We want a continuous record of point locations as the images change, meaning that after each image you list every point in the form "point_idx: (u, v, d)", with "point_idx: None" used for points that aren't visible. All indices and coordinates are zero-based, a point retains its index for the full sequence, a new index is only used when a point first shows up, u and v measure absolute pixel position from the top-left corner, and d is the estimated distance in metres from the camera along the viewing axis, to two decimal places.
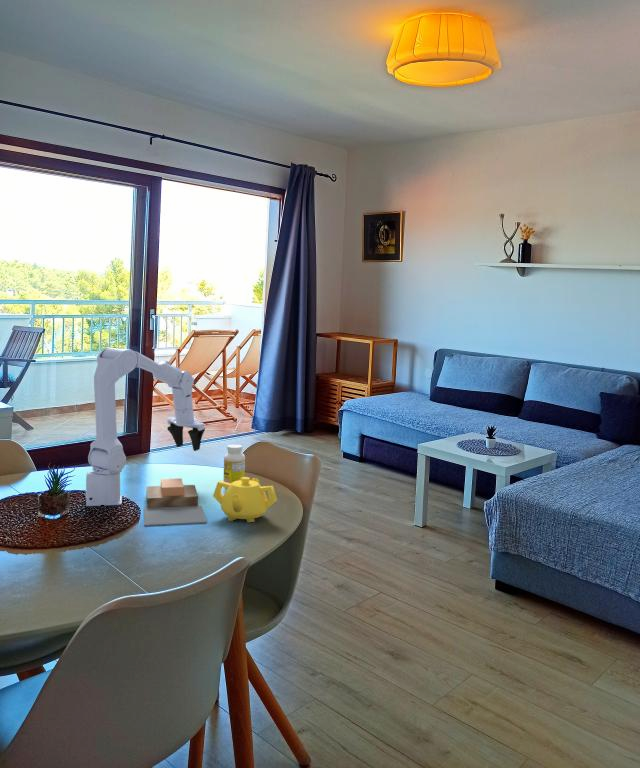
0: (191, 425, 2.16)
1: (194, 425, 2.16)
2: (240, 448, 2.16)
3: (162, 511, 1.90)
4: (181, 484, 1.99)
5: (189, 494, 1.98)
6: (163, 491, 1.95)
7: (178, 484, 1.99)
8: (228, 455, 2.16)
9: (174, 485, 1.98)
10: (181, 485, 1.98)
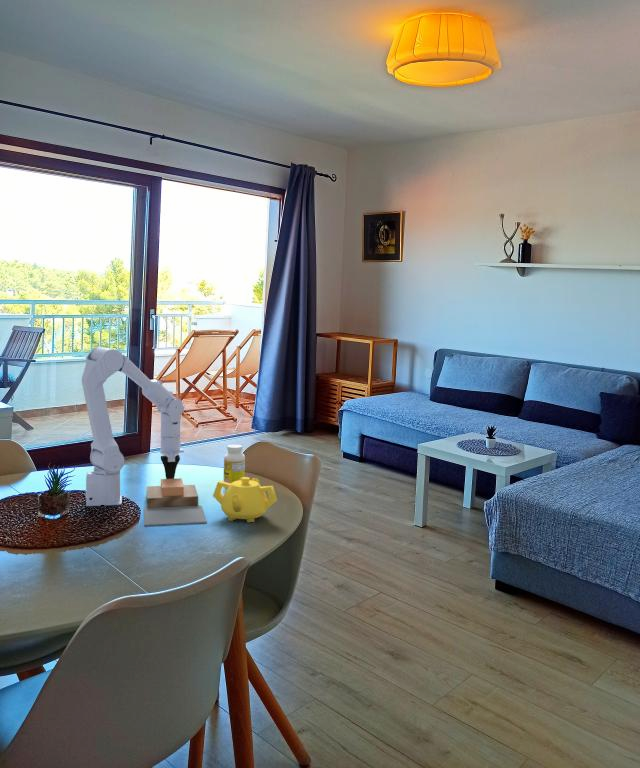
0: (165, 454, 2.05)
1: (166, 455, 2.04)
2: (240, 448, 2.16)
3: (162, 511, 1.90)
4: (181, 484, 1.99)
5: (189, 494, 1.98)
6: (163, 491, 1.95)
7: (178, 484, 1.99)
8: (228, 455, 2.16)
9: (174, 485, 1.98)
10: (181, 485, 1.98)
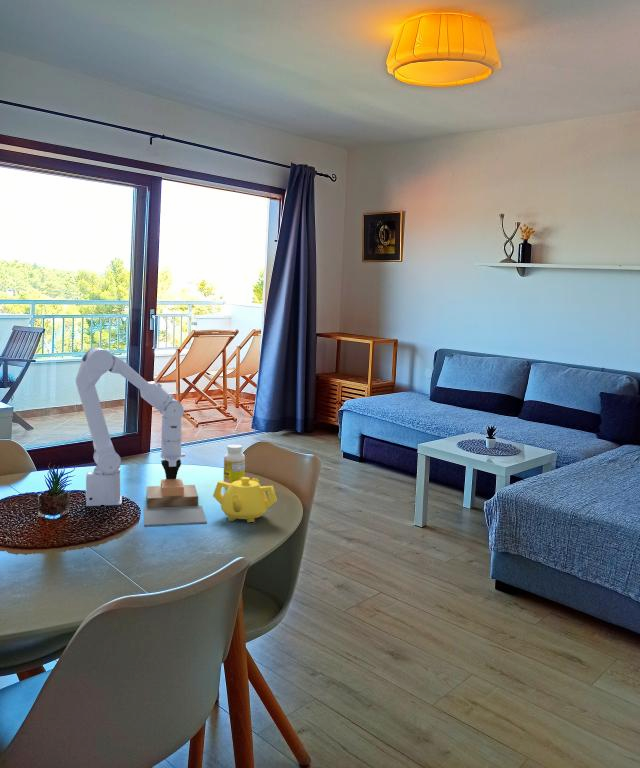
0: (166, 459, 2.00)
1: (167, 459, 1.99)
2: (240, 448, 2.16)
3: (162, 511, 1.90)
4: (181, 484, 1.98)
5: (189, 494, 1.98)
6: (163, 491, 1.95)
7: (178, 484, 1.99)
8: (228, 455, 2.16)
9: (174, 485, 1.97)
10: (181, 485, 1.98)
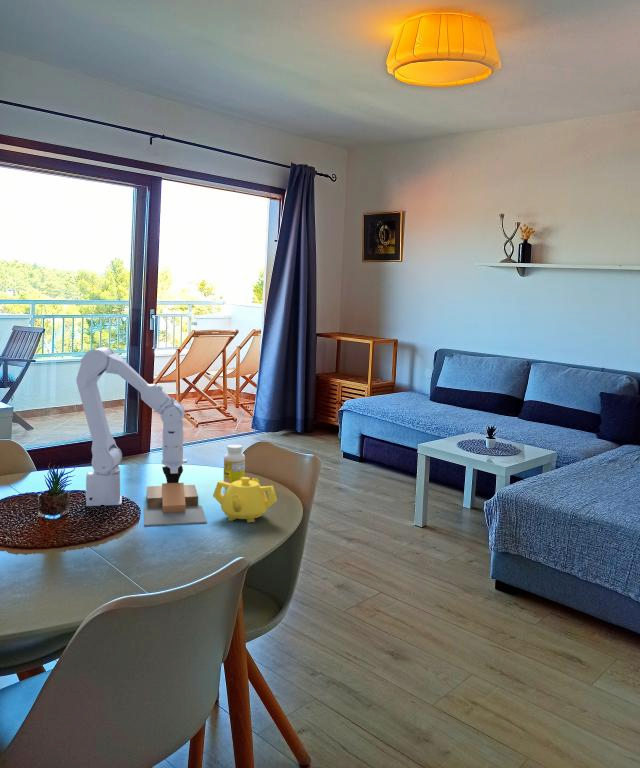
0: (167, 465, 1.92)
1: (169, 466, 1.92)
2: (240, 448, 2.16)
3: (162, 511, 1.90)
4: (183, 499, 1.91)
5: (189, 494, 1.98)
6: (164, 508, 1.89)
7: (180, 497, 1.91)
8: (228, 455, 2.16)
9: (176, 500, 1.90)
10: (183, 501, 1.90)
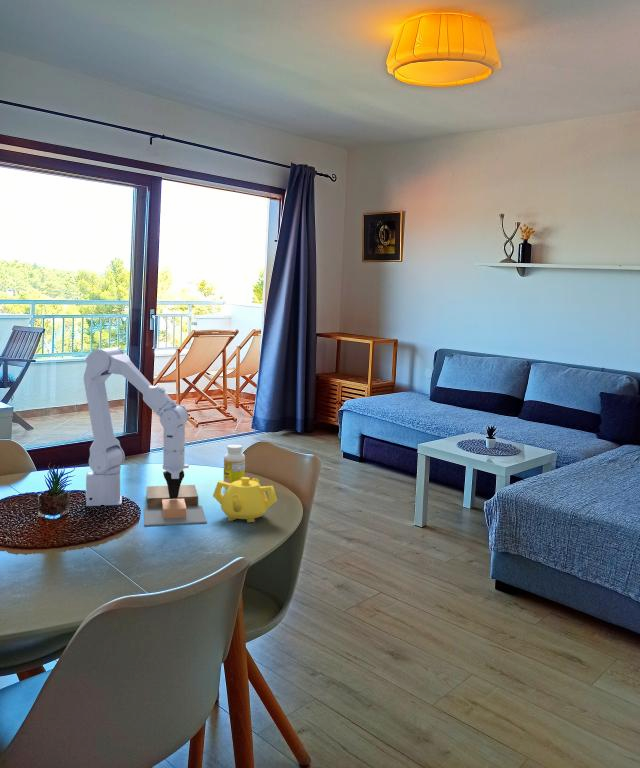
0: (168, 470, 1.87)
1: (170, 471, 1.86)
2: (240, 448, 2.16)
3: None
4: (183, 505, 1.88)
5: (189, 494, 1.98)
6: (165, 513, 1.84)
7: (181, 505, 1.88)
8: (228, 455, 2.16)
9: (176, 506, 1.87)
10: (184, 506, 1.87)
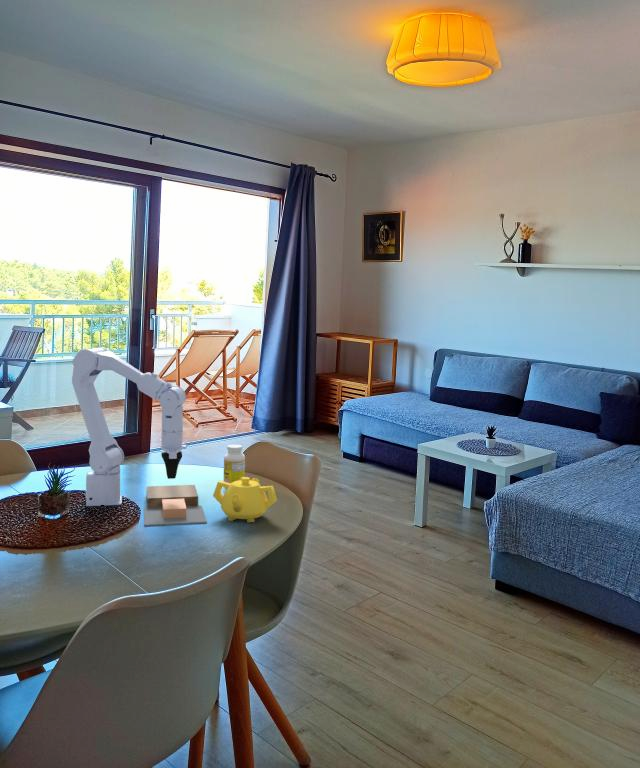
0: (166, 451, 1.88)
1: (167, 451, 1.87)
2: (240, 448, 2.16)
3: None
4: (183, 505, 1.88)
5: (189, 494, 1.98)
6: (165, 513, 1.84)
7: (181, 505, 1.88)
8: (228, 455, 2.16)
9: (176, 506, 1.87)
10: (184, 506, 1.87)
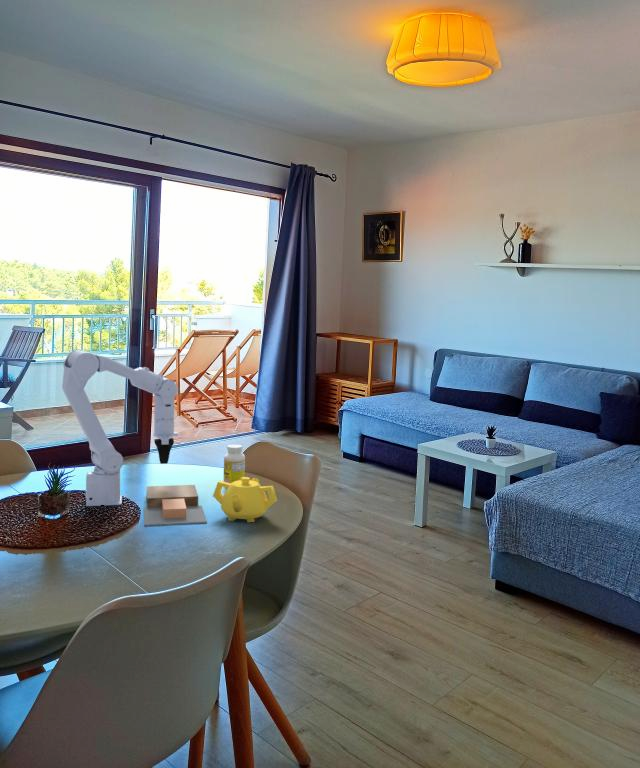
0: (159, 437, 2.01)
1: (160, 437, 2.00)
2: (240, 448, 2.16)
3: None
4: (183, 505, 1.88)
5: (189, 494, 1.98)
6: (165, 513, 1.84)
7: (181, 505, 1.88)
8: (228, 455, 2.16)
9: (176, 506, 1.87)
10: (184, 506, 1.87)
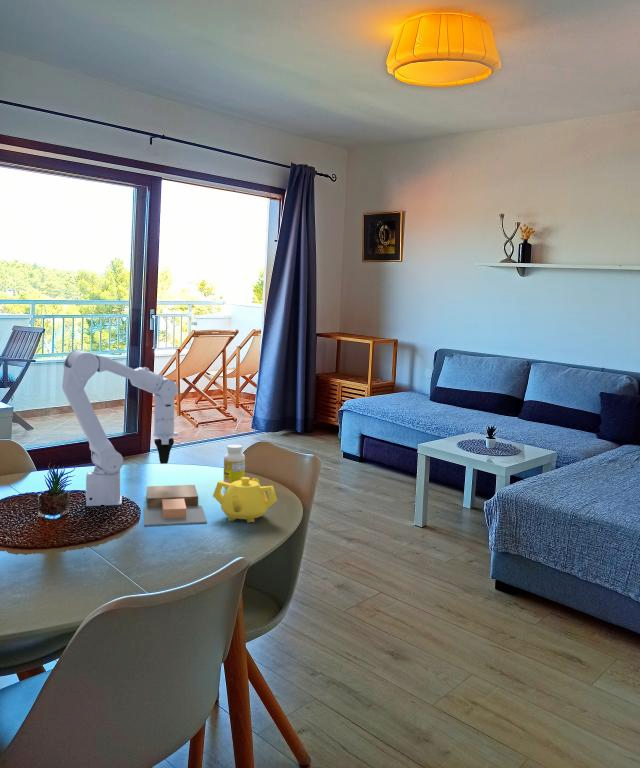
0: (159, 437, 2.01)
1: (160, 437, 2.00)
2: (240, 448, 2.16)
3: None
4: (183, 505, 1.88)
5: (189, 494, 1.98)
6: (165, 513, 1.84)
7: (181, 505, 1.88)
8: (228, 455, 2.16)
9: (176, 506, 1.87)
10: (184, 506, 1.87)
